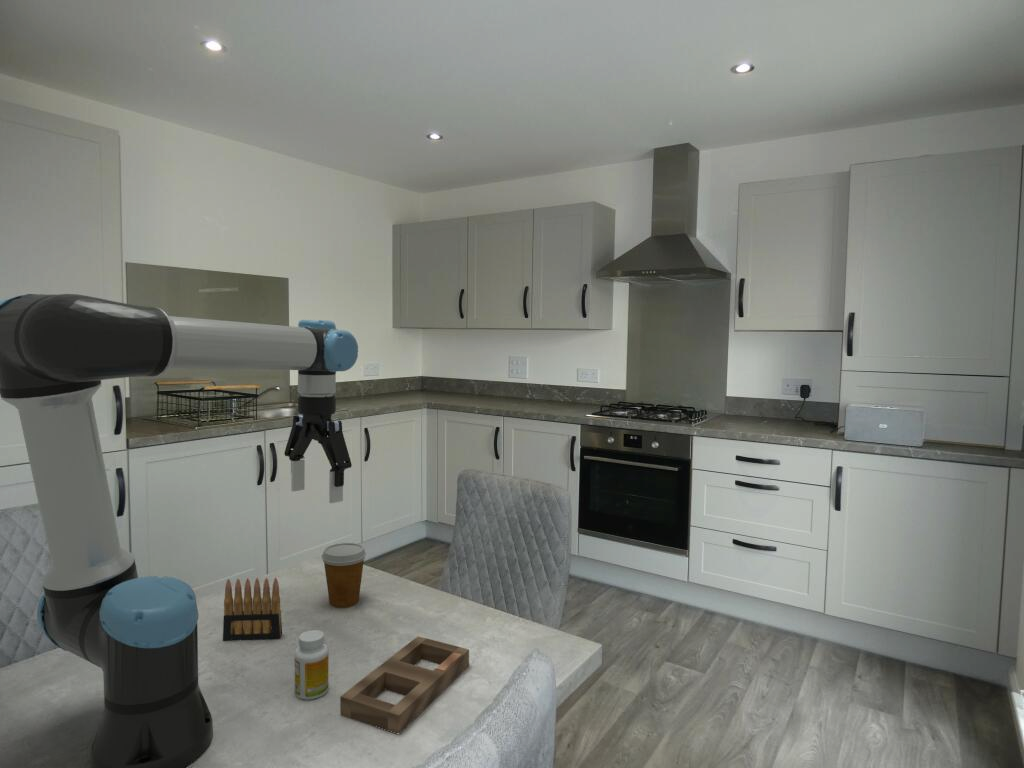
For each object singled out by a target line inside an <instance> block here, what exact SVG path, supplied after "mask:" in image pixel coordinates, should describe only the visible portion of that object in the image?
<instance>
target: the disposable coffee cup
mask: <svg viewBox="0 0 1024 768" xmlns="http://www.w3.org/2000/svg"><path fill="white" fill-rule="evenodd" d="M366 556H367V551H365V547H364V546H363V545H362V544H359V543H355V542H342V543H341V542H339V543H334V544H331V545H328V546H327V547H325V548H324V550H323V552H322V554H321V559H322V562H323V563H324V572H325V579H326V587H327V588H326V589H327V594H328V603H329V606H331V607H333V606H334V608H339V609H340V608H343V609H344V608H348V607H349V608H350V607H352V606H354V605H355V606H356V605H357V604H358V603H359V600H360V591H361V585H362V576H363V569H364V561H365V558H366ZM356 603H357V604H356Z"/></svg>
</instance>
